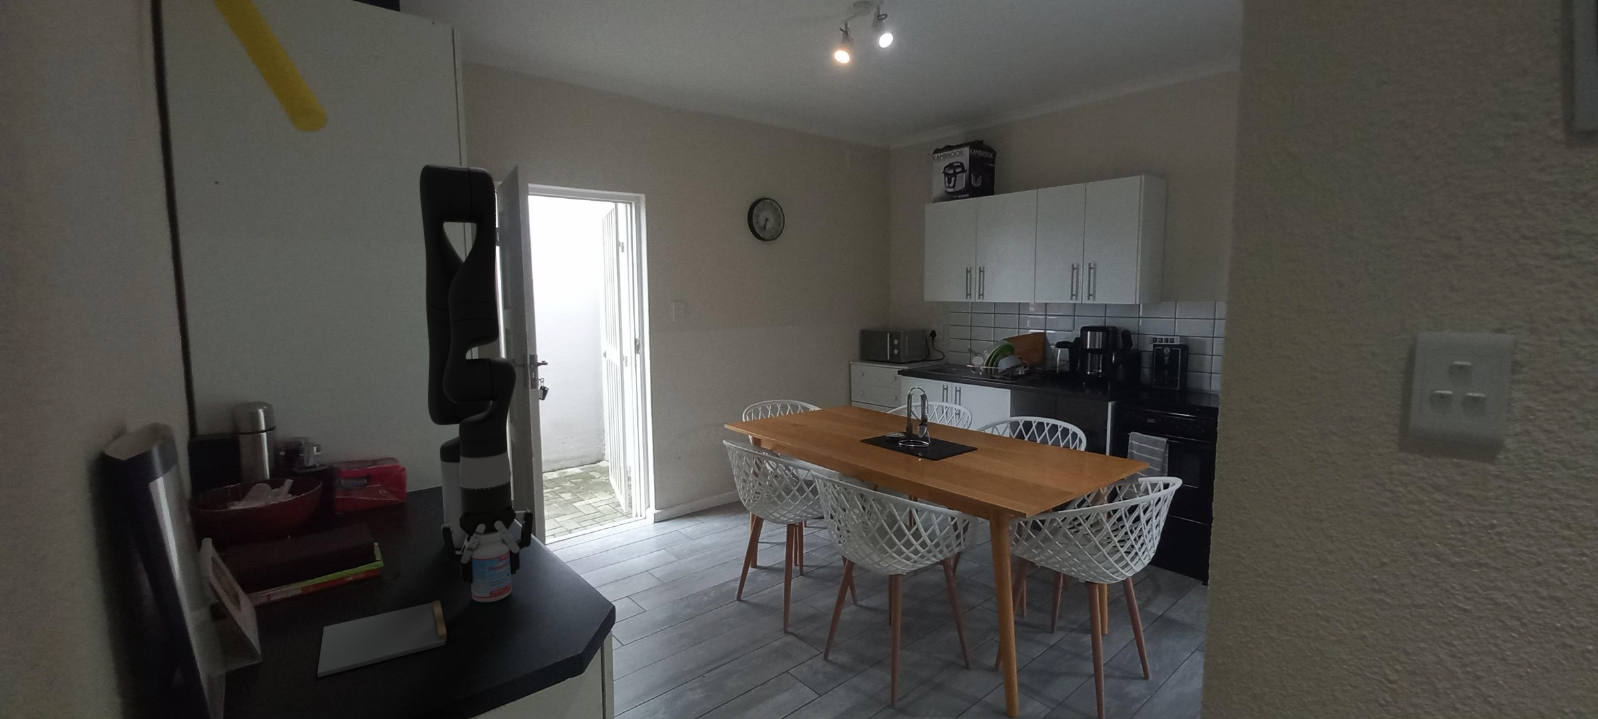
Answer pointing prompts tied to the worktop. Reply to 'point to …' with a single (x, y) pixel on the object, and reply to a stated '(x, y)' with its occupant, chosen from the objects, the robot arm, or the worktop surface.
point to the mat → (378, 639)
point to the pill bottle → (491, 569)
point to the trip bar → (439, 620)
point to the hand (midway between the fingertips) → (491, 577)
